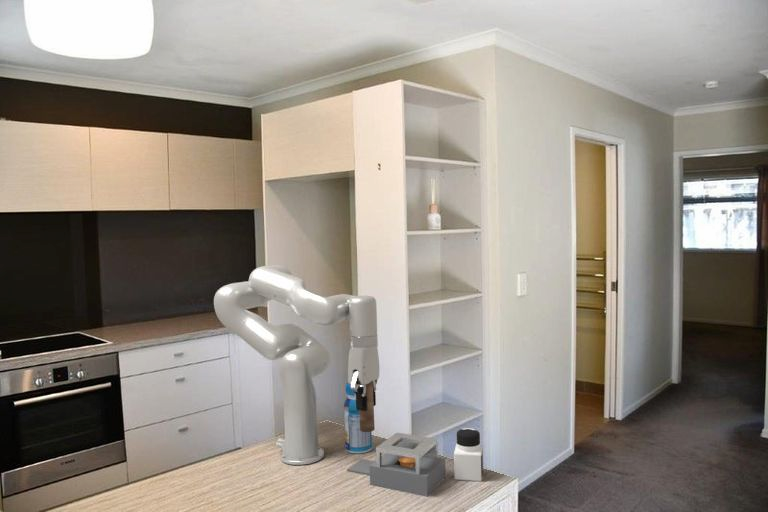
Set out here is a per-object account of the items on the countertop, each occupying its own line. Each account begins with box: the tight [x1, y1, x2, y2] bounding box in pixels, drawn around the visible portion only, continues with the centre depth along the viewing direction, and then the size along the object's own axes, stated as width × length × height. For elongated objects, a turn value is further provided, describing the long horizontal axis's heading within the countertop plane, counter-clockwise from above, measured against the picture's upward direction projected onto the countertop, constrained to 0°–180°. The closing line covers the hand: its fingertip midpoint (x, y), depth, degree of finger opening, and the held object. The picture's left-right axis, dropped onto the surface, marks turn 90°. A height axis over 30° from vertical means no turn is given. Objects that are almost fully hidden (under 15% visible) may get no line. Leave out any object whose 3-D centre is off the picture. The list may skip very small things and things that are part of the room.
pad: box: [346, 458, 376, 476], centre depth 161 cm, size 8×8×1 cm
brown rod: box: [359, 381, 375, 432], centre depth 160 cm, size 4×4×16 cm
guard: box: [375, 432, 439, 475], centre depth 152 cm, size 12×12×5 cm
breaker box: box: [369, 453, 447, 497], centre depth 152 cm, size 16×12×5 cm
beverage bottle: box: [343, 382, 373, 455], centre depth 175 cm, size 8×8×20 cm
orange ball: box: [399, 456, 416, 468], centre depth 152 cm, size 5×5×6 cm
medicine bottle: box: [453, 427, 484, 482], centre depth 155 cm, size 7×7×12 cm
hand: (366, 407), depth 160 cm, fingers closed on brown rod, 4 cm apart
